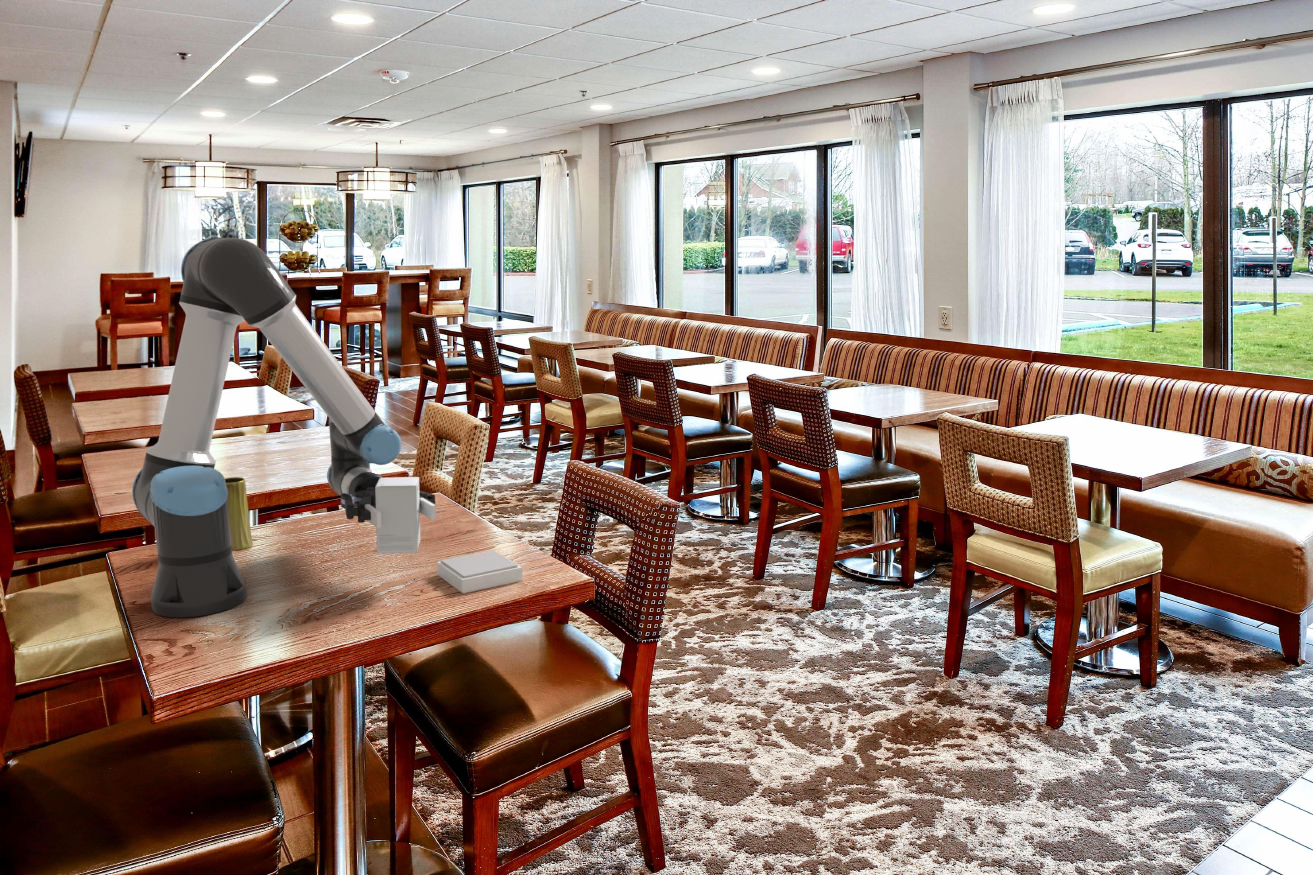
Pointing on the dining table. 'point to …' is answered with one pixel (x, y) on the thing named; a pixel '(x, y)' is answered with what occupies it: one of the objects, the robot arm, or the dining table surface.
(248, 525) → the vase
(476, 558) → the pedestal
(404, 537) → the supplement box
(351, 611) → the dining table surface
